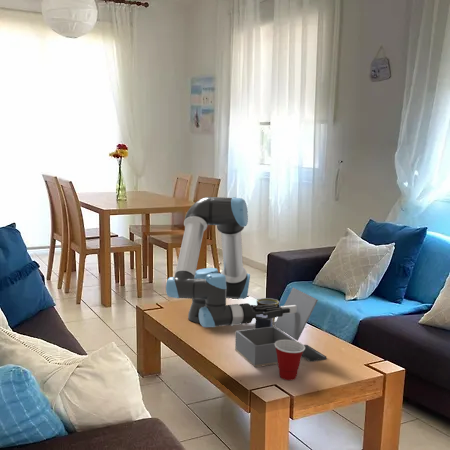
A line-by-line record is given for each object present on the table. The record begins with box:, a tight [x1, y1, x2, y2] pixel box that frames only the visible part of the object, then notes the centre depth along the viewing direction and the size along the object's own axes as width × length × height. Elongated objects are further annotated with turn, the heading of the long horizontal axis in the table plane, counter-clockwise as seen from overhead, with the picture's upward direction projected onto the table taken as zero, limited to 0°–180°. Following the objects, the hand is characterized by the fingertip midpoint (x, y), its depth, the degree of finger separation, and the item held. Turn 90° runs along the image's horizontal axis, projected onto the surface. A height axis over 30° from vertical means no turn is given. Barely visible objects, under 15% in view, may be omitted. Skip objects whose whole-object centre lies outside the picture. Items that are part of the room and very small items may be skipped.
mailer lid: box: [273, 287, 319, 342], centre depth 222 cm, size 18×17×1 cm
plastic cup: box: [274, 340, 305, 381], centre depth 199 cm, size 11×11×12 cm
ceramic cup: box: [256, 297, 280, 324], centre depth 261 cm, size 13×10×10 cm
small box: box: [254, 318, 274, 329], centre depth 237 cm, size 11×6×10 cm, turn 168°
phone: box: [301, 344, 327, 363], centre depth 222 cm, size 8×1×15 cm
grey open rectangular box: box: [234, 325, 297, 368], centre depth 219 cm, size 18×17×8 cm
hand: (295, 308), depth 221 cm, fingers closed
